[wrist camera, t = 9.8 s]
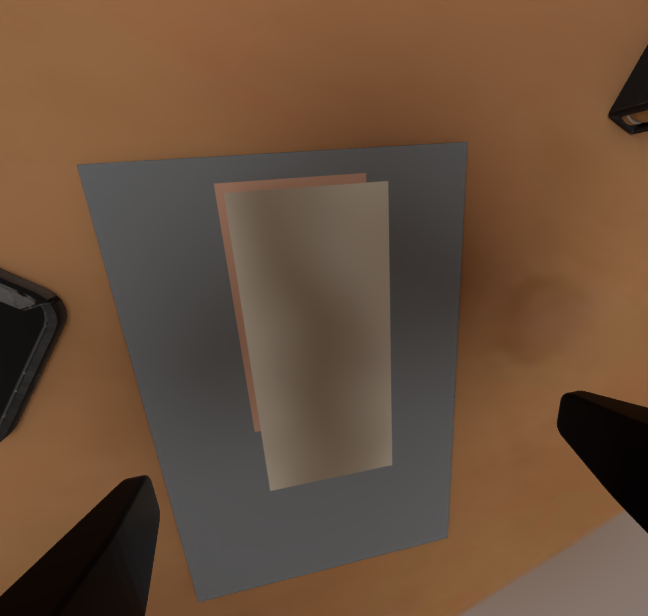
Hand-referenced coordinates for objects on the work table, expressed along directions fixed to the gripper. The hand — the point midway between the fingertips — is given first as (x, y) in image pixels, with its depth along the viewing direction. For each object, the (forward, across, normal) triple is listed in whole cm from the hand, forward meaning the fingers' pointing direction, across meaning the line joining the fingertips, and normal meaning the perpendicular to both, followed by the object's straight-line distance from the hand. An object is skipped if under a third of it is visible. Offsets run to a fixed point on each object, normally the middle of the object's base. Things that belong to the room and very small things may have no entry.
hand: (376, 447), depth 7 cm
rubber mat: (+10, 0, +5) cm, 11 cm away
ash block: (+10, 0, 0) cm, 10 cm away
